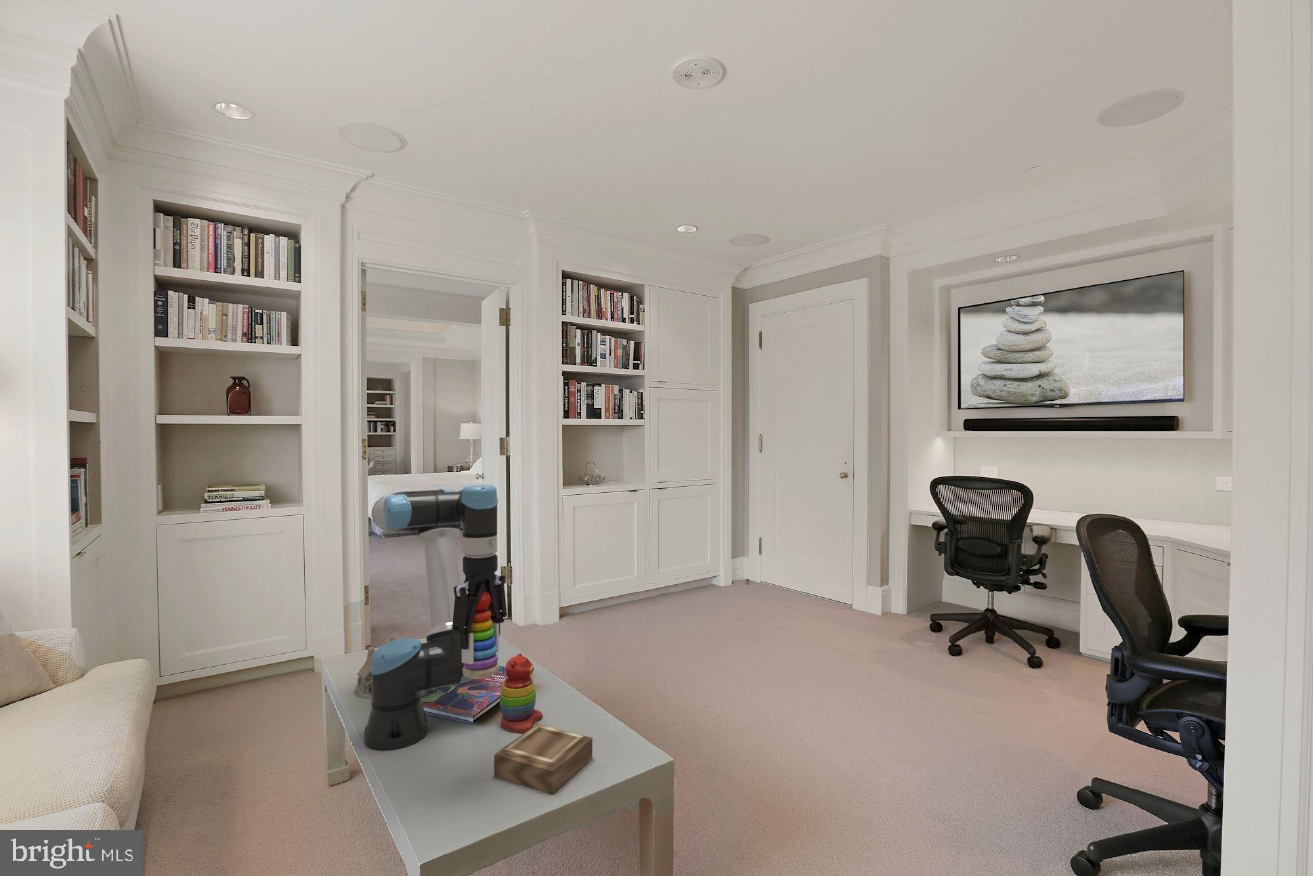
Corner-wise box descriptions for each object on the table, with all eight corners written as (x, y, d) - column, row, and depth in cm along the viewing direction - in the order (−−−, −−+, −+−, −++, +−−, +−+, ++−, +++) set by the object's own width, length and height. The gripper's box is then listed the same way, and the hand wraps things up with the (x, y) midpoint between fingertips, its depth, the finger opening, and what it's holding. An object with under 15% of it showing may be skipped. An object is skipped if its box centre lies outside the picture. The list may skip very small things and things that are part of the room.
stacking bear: (528, 734, 159) (528, 665, 159) (492, 730, 161) (492, 662, 161) (544, 715, 170) (544, 650, 170) (510, 712, 172) (510, 648, 172)
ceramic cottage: (351, 688, 187) (353, 639, 187) (408, 677, 197) (410, 631, 196) (361, 710, 175) (363, 658, 174) (421, 698, 184) (424, 648, 184)
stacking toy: (503, 666, 143) (502, 585, 143) (493, 680, 135) (493, 593, 135) (469, 666, 143) (468, 585, 143) (457, 680, 135) (456, 594, 135)
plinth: (494, 776, 140) (494, 750, 140) (537, 743, 155) (537, 720, 155) (553, 794, 133) (553, 767, 133) (592, 758, 148) (592, 734, 148)
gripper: (458, 564, 128) (459, 675, 128) (523, 548, 146) (523, 646, 146) (432, 561, 132) (433, 669, 132) (498, 546, 149) (499, 641, 150)
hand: (480, 656), depth 139 cm, fingers closed on stacking toy, 7 cm apart
